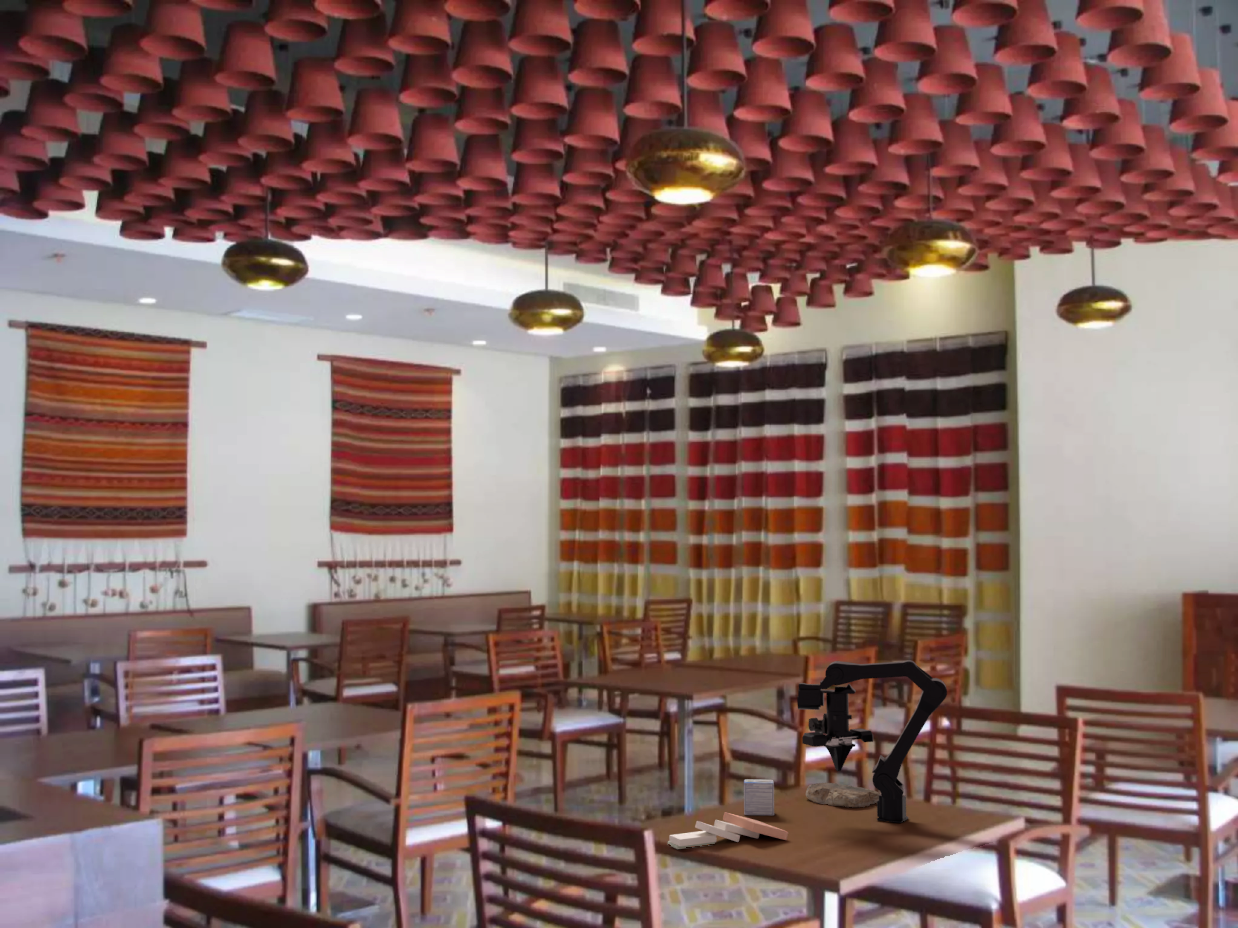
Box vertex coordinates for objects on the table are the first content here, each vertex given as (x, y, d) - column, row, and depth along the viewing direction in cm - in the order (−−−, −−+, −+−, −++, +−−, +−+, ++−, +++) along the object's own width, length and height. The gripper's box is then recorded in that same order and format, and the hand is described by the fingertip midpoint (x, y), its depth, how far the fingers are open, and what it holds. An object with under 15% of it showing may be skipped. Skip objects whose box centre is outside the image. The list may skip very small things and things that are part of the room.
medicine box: (774, 812, 332) (773, 779, 333) (774, 815, 328) (774, 782, 328) (744, 811, 333) (743, 778, 334) (744, 815, 329) (743, 782, 329)
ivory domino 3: (748, 827, 308) (715, 819, 304) (759, 831, 304) (726, 823, 299) (746, 834, 308) (713, 825, 303) (758, 838, 303) (724, 830, 299)
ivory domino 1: (705, 830, 302) (669, 834, 297) (716, 834, 297) (680, 839, 293) (705, 837, 302) (669, 841, 297) (716, 841, 297) (680, 846, 293)
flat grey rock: (793, 801, 348) (854, 810, 334) (793, 783, 348) (854, 791, 334) (822, 794, 358) (883, 803, 344) (822, 777, 358) (882, 785, 344)
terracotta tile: (757, 820, 314) (724, 811, 310) (788, 831, 302) (754, 822, 298) (755, 828, 314) (722, 819, 310) (786, 840, 301) (752, 831, 297)
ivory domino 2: (727, 830, 304) (696, 820, 299) (740, 835, 300) (709, 825, 295) (725, 836, 304) (694, 827, 299) (738, 841, 300) (707, 831, 295)
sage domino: (704, 836, 302) (667, 841, 298) (714, 841, 298) (677, 845, 293) (704, 843, 302) (667, 847, 298) (714, 847, 298) (677, 852, 293)
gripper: (849, 704, 338) (850, 762, 337) (790, 708, 331) (791, 768, 330) (874, 709, 328) (875, 769, 327) (813, 713, 320) (814, 775, 320)
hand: (838, 770), depth 326 cm, fingers closed
